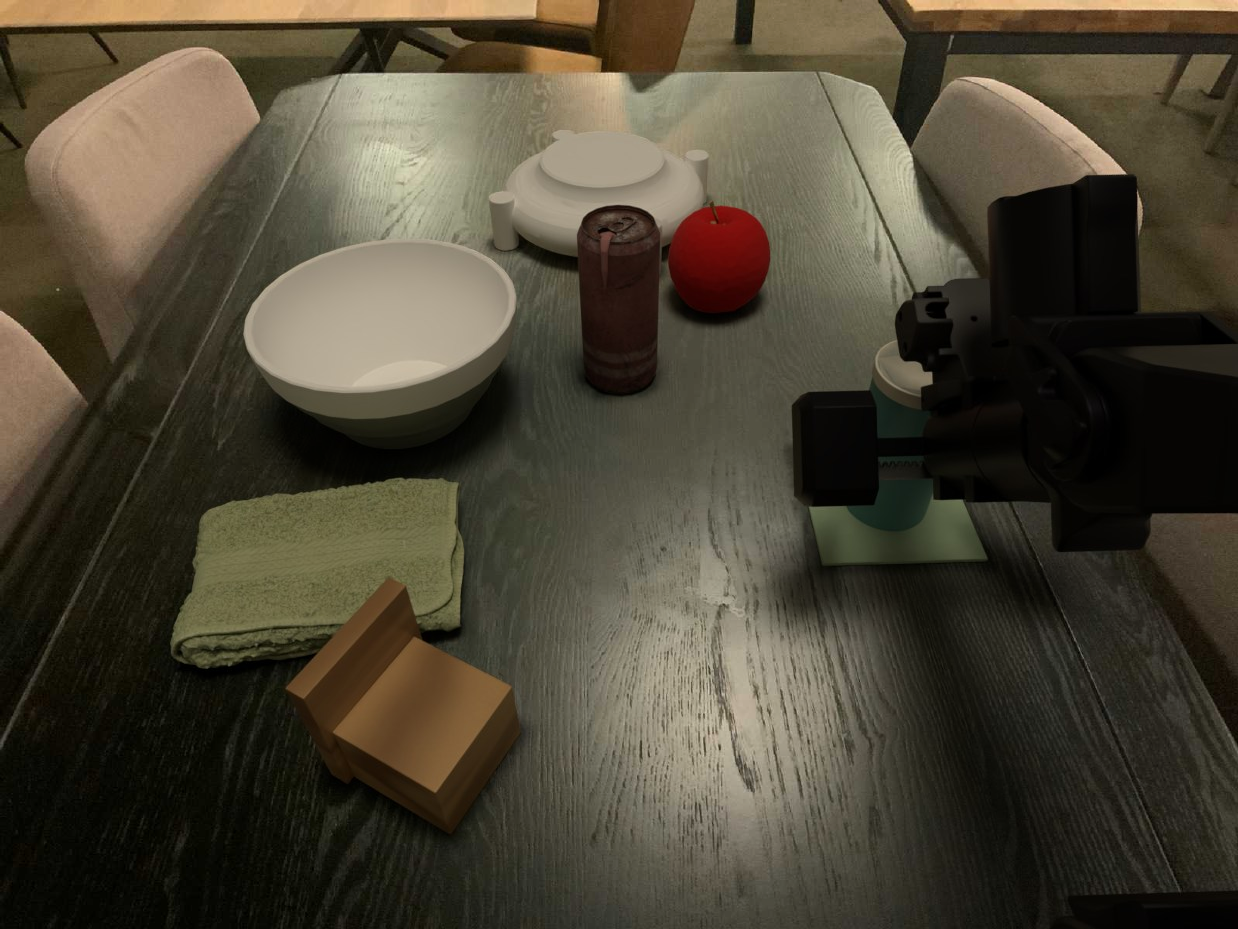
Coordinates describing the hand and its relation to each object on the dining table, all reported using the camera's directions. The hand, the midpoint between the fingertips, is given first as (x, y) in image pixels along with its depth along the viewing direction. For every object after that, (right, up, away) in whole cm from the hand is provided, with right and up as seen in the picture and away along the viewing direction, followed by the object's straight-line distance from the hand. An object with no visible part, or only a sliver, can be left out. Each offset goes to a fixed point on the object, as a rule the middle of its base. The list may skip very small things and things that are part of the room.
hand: (913, 450), depth 55 cm
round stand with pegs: (-20, +25, +35) cm, 47 cm away
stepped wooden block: (-29, -17, -7) cm, 34 cm away
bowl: (-36, +4, +14) cm, 39 cm away
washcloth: (-38, -9, +2) cm, 39 cm away
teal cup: (0, -3, +6) cm, 7 cm away
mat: (0, -4, +6) cm, 7 cm away
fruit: (-10, +14, +25) cm, 30 cm away
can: (-19, +7, +17) cm, 26 cm away
